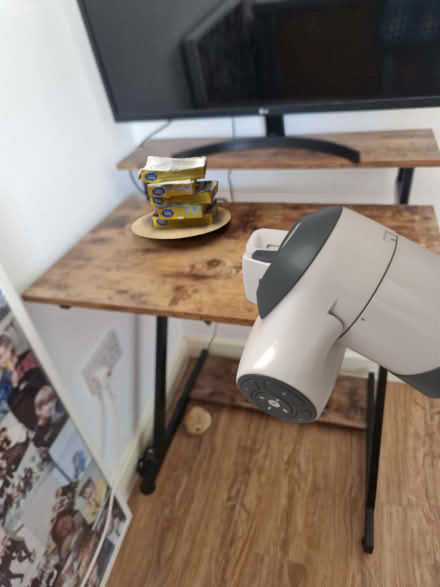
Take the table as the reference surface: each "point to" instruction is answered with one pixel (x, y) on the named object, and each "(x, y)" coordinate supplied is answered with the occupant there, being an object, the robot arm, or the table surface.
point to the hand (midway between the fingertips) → (340, 228)
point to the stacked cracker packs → (179, 199)
